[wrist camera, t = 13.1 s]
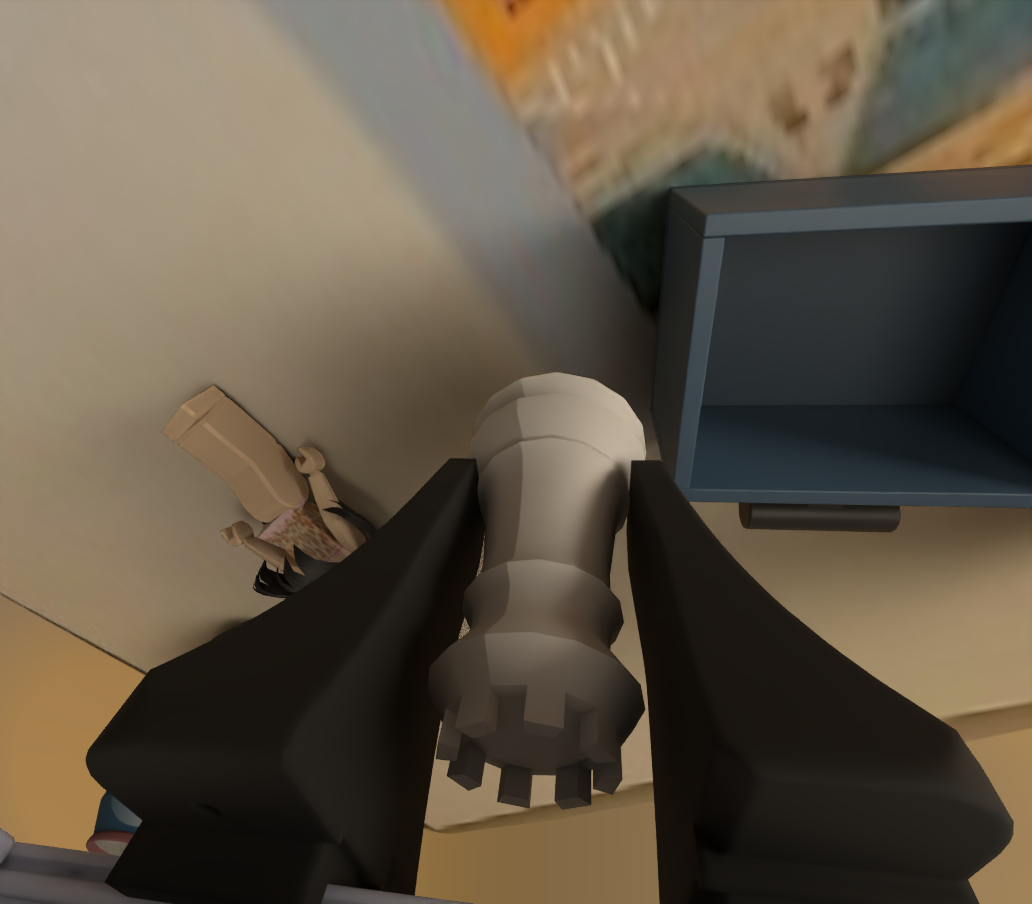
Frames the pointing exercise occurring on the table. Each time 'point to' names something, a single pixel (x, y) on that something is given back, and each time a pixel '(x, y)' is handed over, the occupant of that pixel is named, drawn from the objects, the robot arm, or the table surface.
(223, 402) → the toy figure
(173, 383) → the table surface
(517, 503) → the rook chess piece
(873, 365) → the basket
